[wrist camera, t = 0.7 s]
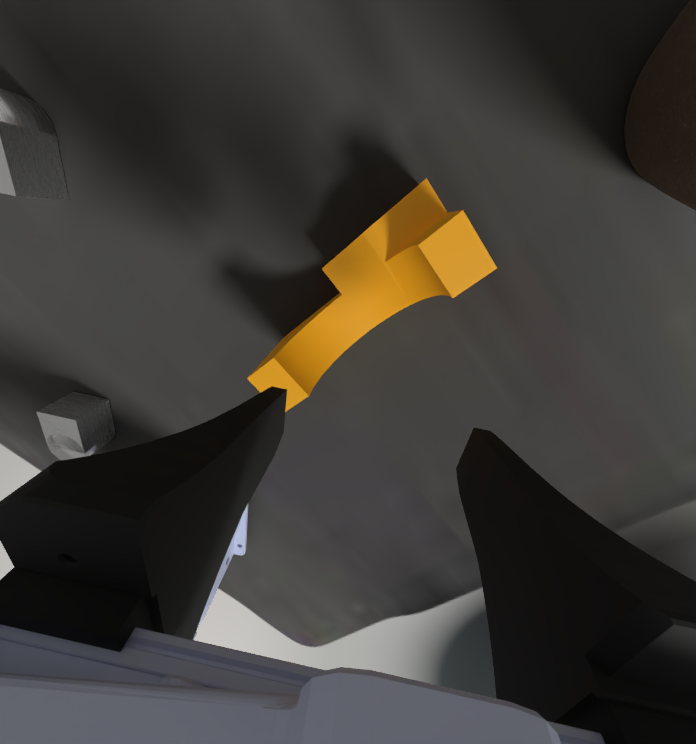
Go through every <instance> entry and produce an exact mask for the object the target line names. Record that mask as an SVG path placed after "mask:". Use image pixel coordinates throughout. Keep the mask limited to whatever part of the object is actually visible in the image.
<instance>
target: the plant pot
mask: <svg viewBox="0 0 696 744" xmlns="http://www.w3.org/2000/svg"><path fill="white" fill-rule="evenodd" d="M624 136H625V146H626V149H627V153H628V157H629V160H630V162H631V164H632V166H633V168H634V169H635V170H636V172H637V173H638V174H639V175H640V176H641V177H642V178H643V179H644V180H646V181H647V182H648V183H650V184H651V185H653V186H654V187H656V188H657V189H659V190H660V191H662V192H663V193H665V194H667V195H669V196H670V197H672V198H674V199H676V200H677V201H679V202H681V203H683V204H685V205H687V206H689V207H691V208H692V209H694V210H696V0H689V2H688V3H687V4H686V6H685V7H684V8H683V10H682V11H681V12H680V14H679V15H678V16H677V18H676V19H675V21H674V22H673V23H672V25H671V26H670V28H669V29H668V30H667V32H666V33H665V35H664V36H663V37H662V39H661V40H660V42H659V43H658V45H657V46H656V48H655V49H654V51H653V52H652V54H651V55H650V57H649V58H648V60H647V62H646V63H645V65H644V67H643V69H642V71H641V73H640V75H639V77H638V79H637V81H636V84H635V86H634V89H633V91H632V94H631V97H630V100H629V104H628V108H627V112H626V118H625V129H624Z"/></svg>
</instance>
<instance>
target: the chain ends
mask: <svg viewBox="0 0 696 744" xmlns="http://www.w3.org/2000/svg"><path fill="white" fill-rule="evenodd" d="M0 193H4V194H8V195H13V196H21V197H35V198H48V199H62V200H69V197H68V192H67V187H66V182H65V177H64V172H63V167H62V162H61V157H60V152H59V147H58V141H57V136H56V132H55V129H54V127H53V124H52V122H51V120H50V118H49V117H48V115H47V114H46V113H45V111H44V110H43V109H42V108H41V107H40V106H39V105H38V104H37V103H35V102H34V101H32V100H31V99H28V98H26V97H23V96H20V95H17V94H14V93H12V92H9V91H6V90H3V89H0ZM37 415H38V418H39V421H40V424H41V427H42V430H43V433H44V436H45V439H46V442H47V445H48V447H49V449H50V451H51V452H52V453H53V454H54V455H55V456H56V457H57V458H59V459H60V460H68V459H74V458H79V457H85V456H90V455H92V454H93V453H95V452H96V451H97V450H98V449H100V448H101V447H102V446H103V445H105V444H106V443H107V442H109V441H110V440H111V439H112V438H113V437H114V436H115V428H114V423H113V418H112V413H111V408H110V403H109V399H105V398H100V397H96V396H91V395H87V394H82V393H78V392H72V393H70V394H68V395H66V396H65V397H63V398H61V399H59V400H57V401H55V402H53V403H52V404H50V405H48V406H46V407H44V408H42V409H40V410H39V411H37Z"/></svg>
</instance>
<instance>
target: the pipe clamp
mask: <svg viewBox="0 0 696 744" xmlns="http://www.w3.org/2000/svg"><path fill="white" fill-rule="evenodd" d="M495 269H497V267H496V265H495V264H494V262H493V260H492V259H491V257H490V255H489V253H488V252H487V250H486V248H485V247H484V245H483V243H482V242H481V240H480V238H479V236H478V235H477V233H476V231H475V230H474V228H473V226H472V224H471V223H470V221H469V219H468V218H467V216H466V214H465V213H464V211H463V210H460V211H455V212H449V213H447V211H446V210H445V208H444V206H443V205H442V203H441V201H440V200H439V198H438V196H437V195H436V193H435V191H434V190H433V188H432V186H431V185H430V183H429V181H428V180H427V178H426V179H425V180H424V181H423V182H422V183H420V184H419V185H418V186H417V187H416V188H415V189H413V190H412V191H411V192H410V193H409V194H408V195H406V196H405V197H404V198H403V199H402V200H401V201H399V202H398V203H397V204H396V205H395V206H394V207H392V208H391V209H390V210H389V211H388V212H387V213H385V214H384V215H383V216H382V217H381V218H380V219H378V220H377V221H376V222H375V223H374V224H373V225H371V226H370V227H369V228H368V229H367V230H366V231H365V232H363V233H362V234H361V235H360V236H359V237H358V238H357V239H355V240H354V241H353V242H352V243H351V244H350V245H349V246H347V247H346V248H345V249H344V250H343V251H342V252H341V253H339V254H338V255H337V256H336V257H335V258H334V259H332V260H331V261H330V262H329V263H328V264H327V265H325V266H324V267H323V268H322V270H323V271H324V272H325V274H326V275H327V276H328V278H329V279H330V280H331V281H332V283H333V284H334V285H335V287H336V288H337V289H338V290H339V292H340V293H339V294H337V295H336V296H335V297H334V298H332V299H331V300H330V301H329V302H327V303H326V304H325V305H324V306H322V307H321V308H320V309H319V310H317V311H316V312H315V313H314V314H312V315H311V316H310V317H309V318H307V319H306V320H305V321H304V322H302V323H301V324H300V325H299V326H297V327H296V328H295V329H294V330H292V331H291V332H290V333H289V334H287V335H286V336H285V337H284V338H283V339H282V340H281V341H280V342H279V343H278V344H277V346H276V347H275V348H274V349H273V350H272V351H271V352H270V353H269V355H268V356H267V357H266V358H265V359H264V360H263V361H262V362H261V363H260V365H259V366H258V367H257V368H256V369H255V370H254V371H253V372H252V373H251V375H250V376H249V377H248V378H247V379H248V380H249V381H250V382H251V383H252V384H253V385H254V386H255V387H256V388H257V389H258V390H259V391H260V392H263V391H264V390H266V389H268V388H270V387H271V386H273V387H278V388H282V389H287V397H286V408H285V412H286V411H287V410H289V409H290V408H292V407H293V406H295V405H296V404H298V403H299V402H301V401H302V400H304V399H305V398H306V397H308V396H309V394H310V392H311V391H312V389H313V387H314V386H315V384H316V383H317V381H318V380H319V379H320V377H321V376H322V375H323V374H324V372H325V371H326V370H327V369H328V368H329V367H330V366H331V364H332V363H333V362H334V361H335V360H336V359H337V358H338V357H339V356H340V355H341V354H342V353H343V352H344V351H346V350H347V349H348V348H349V347H350V346H351V345H352V344H353V343H355V342H356V341H357V340H358V339H359V338H361V337H362V336H363V335H364V334H366V333H367V332H368V331H370V330H371V329H372V328H374V327H375V326H376V325H378V324H379V323H381V322H382V321H384V320H385V319H387V318H388V317H390V316H391V315H393V314H395V313H396V312H398V311H400V310H402V309H403V308H405V307H407V306H409V305H411V304H413V303H416V302H418V301H420V300H423V299H426V298H429V297H432V296H437V295H447V296H450V297H452V298H454V297H455V296H457V295H458V294H460V293H461V292H463V291H464V290H466V289H467V288H469V287H470V286H472V285H473V284H475V283H476V282H478V281H479V280H481V279H482V278H483V277H485V276H486V275H488V274H489V273H491V272H492V271H494V270H495Z"/></svg>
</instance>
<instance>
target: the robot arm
mask: <svg viewBox="0 0 696 744" xmlns="http://www.w3.org/2000/svg"><path fill="white" fill-rule="evenodd" d="M286 397H287V389H282V388H278V387H273V386H271V387H270V388H268V389H266V390H264V391H263V392H261V393H259V394H258V395H256V396H254V397H253V398H251V399H249V400H248V401H246V402H244V403H242V404H241V405H239V406H237V407H235V408H233V409H231V410H229V411H227V412H225V413H223V414H221V415H219V416H217V417H216V418H214V419H211V420H209V421H207V422H205V423H202V424H200V425H198V426H195V427H193V428H190V429H187V430H185V431H182V432H179V433H176V434H173V435H170V436H167V437H164V438H161V439H158V440H154V441H151V442H148V443H144V444H140V445H136V446H133V447H129V448H124V449H120V450H116V451H111V452H106V453H102V454H96V455H90V456H85V457H79V458H74V459H68V460H62V461H56V462H54V463H53V464H52V465H50V466H49V467H47V468H46V469H45V470H43V471H42V472H40V473H39V474H38V475H36V476H35V477H33V478H32V479H31V480H29V481H28V482H27V483H25V484H24V485H23V486H21V487H20V488H18V489H17V490H15V491H14V492H13V493H12V494H10V495H9V496H7V497H6V498H4V499H3V500H2V501H0V541H1V542H2V544H3V546H4V548H5V550H6V552H7V553H8V556H9V558H10V559H11V561H12V563H13V565H14V568H13V569H12V570H11V571H10V572H9V573H8V574H6V576H4V577H3V578H2V579H1V580H0V744H696V582H695V581H693V580H692V579H689V578H688V577H686V576H684V575H683V574H681V573H679V572H677V571H676V570H674V569H672V568H670V567H669V566H667V565H665V564H664V563H662V562H660V561H658V560H657V559H655V558H653V557H652V556H650V555H649V554H647V553H645V552H644V551H642V550H640V549H639V548H637V547H635V546H634V545H632V544H631V543H629V542H628V541H626V540H624V539H623V538H622V537H620V536H619V535H617V534H616V533H614V532H613V531H611V530H610V529H608V528H607V527H605V526H604V525H602V524H601V523H599V522H598V521H597V520H595V519H594V518H592V517H591V516H590V515H588V514H587V513H586V512H584V511H583V510H582V509H580V508H579V507H578V506H576V505H575V504H574V503H572V502H571V501H570V500H568V499H567V498H566V497H565V496H563V495H562V494H561V493H560V492H559V491H557V490H556V489H555V488H554V487H553V486H551V485H550V484H549V483H548V482H547V481H545V480H544V479H543V478H542V477H541V476H540V475H539V474H537V473H536V472H535V471H534V470H533V469H532V468H531V467H530V466H529V465H528V464H526V463H525V462H524V461H523V460H522V459H521V458H520V457H519V456H518V455H517V454H516V453H515V452H514V451H512V450H511V449H510V448H509V447H508V446H507V445H506V444H505V443H504V442H503V441H502V440H500V439H499V438H498V437H497V436H496V435H495V434H493V433H492V432H491V431H488V430H483V429H478V428H474V429H473V431H472V433H471V436H470V438H469V440H468V443H467V445H466V447H465V449H464V452H463V454H462V456H461V459H460V461H459V463H458V465H457V468H456V470H457V479H458V486H459V493H460V497H461V501H462V505H463V508H464V512H465V516H466V519H467V523H468V526H469V530H470V533H471V537H472V540H473V544H474V548H475V551H476V555H477V559H478V564H479V569H480V574H481V580H482V586H483V592H484V598H485V604H486V611H487V618H488V624H489V632H490V640H491V648H492V656H493V666H494V675H495V686H496V697H497V699H495V698H490V697H486V696H482V695H477V694H473V693H469V692H464V691H460V690H455V689H451V688H447V687H442V686H438V685H433V684H429V683H425V682H420V681H416V680H411V679H407V678H402V677H398V676H394V675H389V674H385V673H381V672H376V671H372V670H363V669H352V668H343V667H341V668H336V669H331V670H321V669H317V668H312V667H307V666H304V665H299V664H295V663H291V662H286V661H282V660H277V659H273V658H268V657H264V656H260V655H255V654H251V653H247V652H242V651H238V650H233V649H229V648H225V647H220V646H216V645H212V644H207V643H203V642H198V641H194V638H195V636H196V634H197V633H196V630H197V627H198V626H199V625H200V623H201V622H202V620H203V618H204V617H205V615H206V612H207V610H208V608H209V606H210V604H211V602H212V600H213V597H214V595H215V593H216V591H217V589H218V587H219V584H220V582H221V580H222V578H223V576H224V574H225V571H226V569H227V567H228V565H229V563H230V561H231V558H232V556H233V554H236V555H244V554H245V551H246V539H247V520H248V502H249V501H250V499H251V497H252V495H253V493H254V491H255V490H256V488H257V486H258V484H259V482H260V481H261V479H262V477H263V475H264V473H265V471H266V470H267V468H268V466H269V464H270V462H271V460H272V459H273V457H274V455H275V452H276V450H277V447H278V445H279V442H280V440H281V437H282V434H283V430H284V419H285V408H286Z"/></svg>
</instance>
